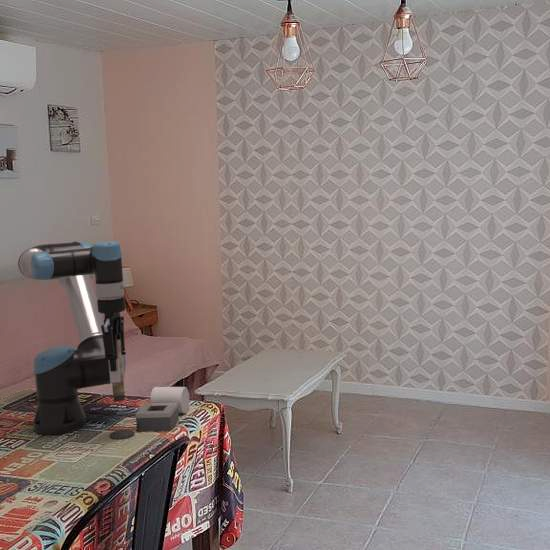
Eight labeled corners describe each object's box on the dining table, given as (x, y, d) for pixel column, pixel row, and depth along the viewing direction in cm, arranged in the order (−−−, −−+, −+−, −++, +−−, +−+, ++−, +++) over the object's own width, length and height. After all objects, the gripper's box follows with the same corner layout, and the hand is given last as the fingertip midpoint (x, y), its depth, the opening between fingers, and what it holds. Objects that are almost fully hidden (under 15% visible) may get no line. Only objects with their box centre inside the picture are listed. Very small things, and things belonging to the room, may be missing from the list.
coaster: (106, 439, 209) (106, 438, 209) (113, 431, 216) (113, 429, 216) (130, 439, 209) (130, 437, 209) (137, 430, 216) (137, 429, 216)
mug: (182, 416, 227) (180, 391, 226) (150, 416, 229) (149, 391, 228) (194, 404, 239) (192, 380, 238) (164, 404, 241) (162, 380, 240)
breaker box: (136, 431, 215) (135, 413, 215) (146, 420, 225) (144, 403, 224) (171, 430, 214) (169, 413, 214) (178, 419, 224) (177, 402, 223)
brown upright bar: (112, 401, 210) (107, 341, 208) (115, 398, 213) (110, 339, 211) (123, 401, 209) (118, 341, 207) (126, 397, 213) (121, 339, 210)
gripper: (115, 301, 199) (122, 387, 202) (132, 292, 215) (138, 372, 218) (87, 302, 200) (95, 388, 203) (106, 293, 216) (113, 373, 219)
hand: (117, 380), depth 210 cm, fingers closed on brown upright bar, 3 cm apart
